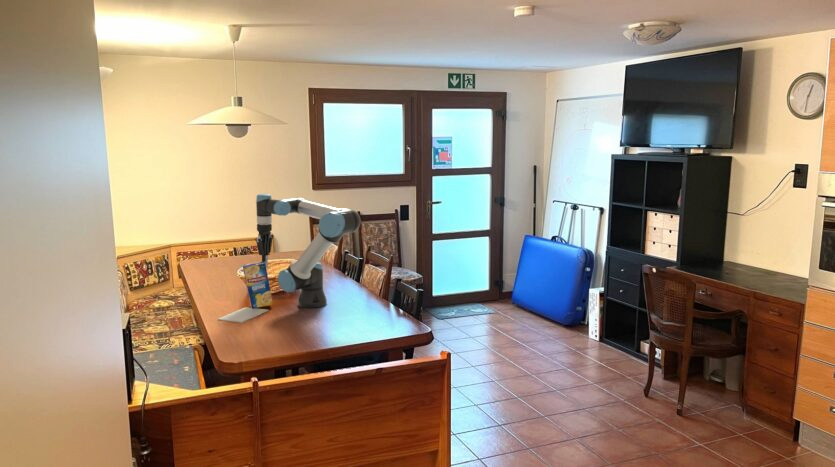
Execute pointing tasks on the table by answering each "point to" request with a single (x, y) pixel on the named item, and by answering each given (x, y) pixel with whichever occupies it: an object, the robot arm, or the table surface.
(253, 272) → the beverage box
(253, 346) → the table surface
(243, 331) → the table surface
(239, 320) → the board
